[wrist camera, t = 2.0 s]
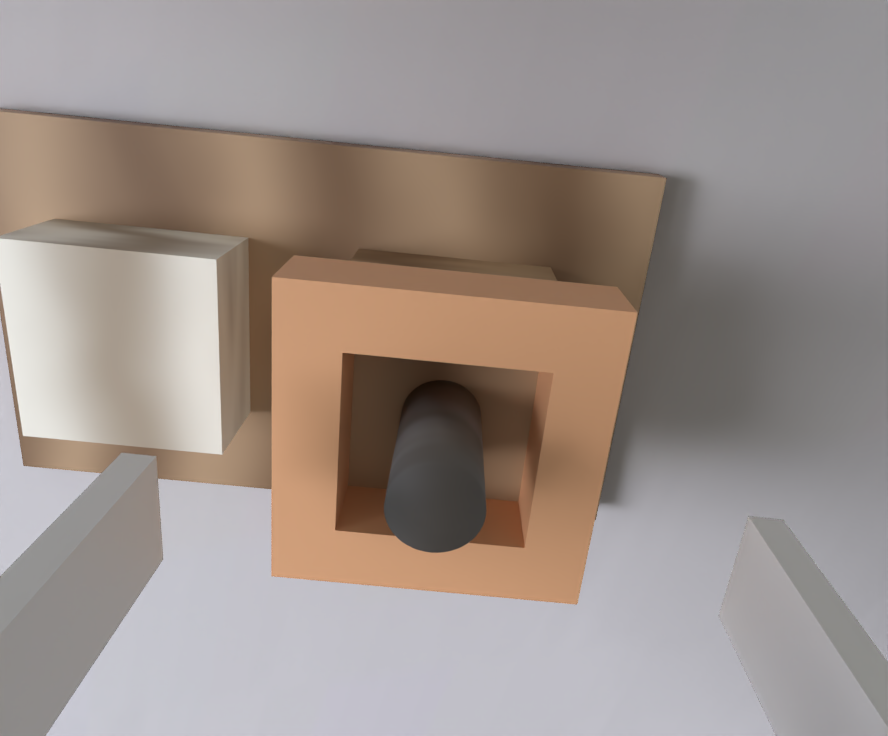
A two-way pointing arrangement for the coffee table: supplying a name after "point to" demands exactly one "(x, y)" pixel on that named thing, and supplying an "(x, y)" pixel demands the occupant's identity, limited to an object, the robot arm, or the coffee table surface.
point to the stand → (250, 298)
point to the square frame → (450, 341)
